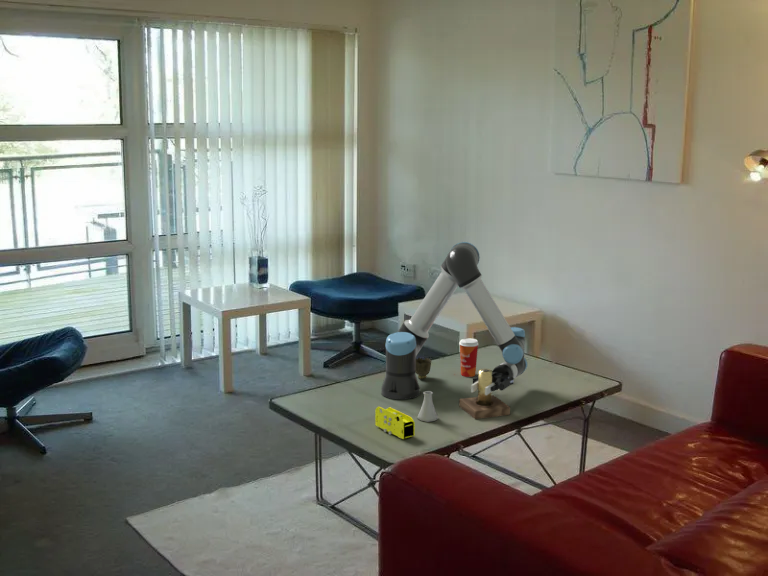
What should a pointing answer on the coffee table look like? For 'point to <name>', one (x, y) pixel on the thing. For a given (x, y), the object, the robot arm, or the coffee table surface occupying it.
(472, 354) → the coffee cup
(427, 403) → the flask
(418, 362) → the cup
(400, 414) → the yellow toy chassis
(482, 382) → the cylinder
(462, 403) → the jig plate
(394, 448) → the coffee table surface
